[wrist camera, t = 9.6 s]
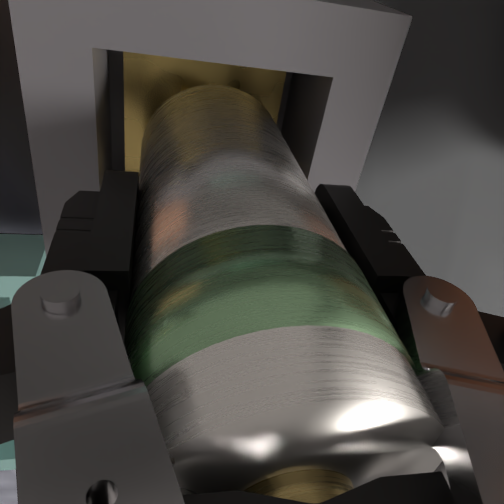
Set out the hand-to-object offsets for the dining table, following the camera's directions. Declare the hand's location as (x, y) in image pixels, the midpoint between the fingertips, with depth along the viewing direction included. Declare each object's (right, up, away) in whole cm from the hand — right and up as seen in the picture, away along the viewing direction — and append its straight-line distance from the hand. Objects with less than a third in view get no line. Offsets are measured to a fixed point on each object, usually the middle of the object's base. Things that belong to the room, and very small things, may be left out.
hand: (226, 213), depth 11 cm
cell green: (-1, +2, +3) cm, 3 cm away
